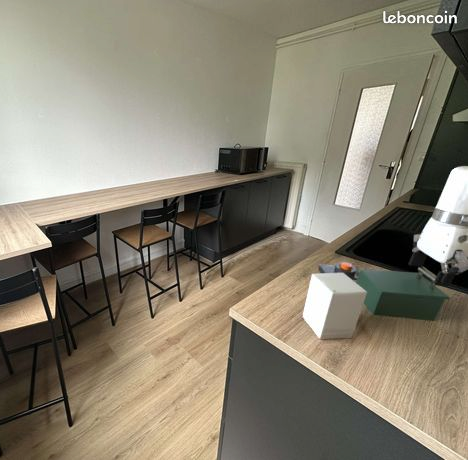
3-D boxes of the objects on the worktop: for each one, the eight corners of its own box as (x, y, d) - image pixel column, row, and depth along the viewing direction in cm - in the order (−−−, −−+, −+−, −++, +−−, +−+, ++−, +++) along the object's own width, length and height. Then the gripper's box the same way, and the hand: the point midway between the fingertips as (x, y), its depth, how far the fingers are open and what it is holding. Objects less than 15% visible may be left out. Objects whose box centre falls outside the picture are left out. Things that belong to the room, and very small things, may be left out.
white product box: (353, 338, 66) (369, 292, 60) (319, 340, 66) (332, 293, 60) (331, 314, 74) (343, 271, 68) (301, 315, 74) (311, 273, 68)
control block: (347, 271, 94) (350, 262, 93) (358, 284, 87) (361, 274, 86) (318, 269, 96) (320, 260, 95) (326, 281, 89) (328, 272, 88)
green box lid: (417, 275, 76) (423, 261, 74) (448, 299, 66) (456, 285, 64) (359, 271, 79) (363, 258, 77) (381, 294, 69) (386, 280, 67)
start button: (348, 266, 91) (349, 262, 90) (352, 271, 88) (354, 267, 88) (338, 265, 92) (339, 261, 91) (342, 270, 89) (343, 266, 88)
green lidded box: (404, 298, 80) (414, 275, 76) (432, 325, 69) (445, 299, 66) (352, 293, 83) (359, 271, 79) (371, 319, 72) (380, 294, 69)
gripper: (508, 231, 54) (471, 295, 61) (444, 207, 70) (420, 260, 77) (466, 229, 56) (435, 292, 63) (412, 206, 71) (392, 258, 78)
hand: (427, 274), depth 70 cm, fingers open, 9 cm apart
